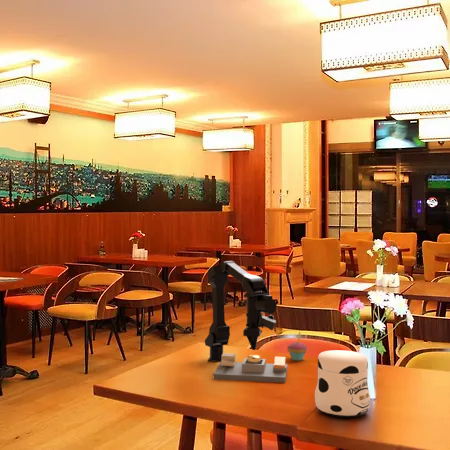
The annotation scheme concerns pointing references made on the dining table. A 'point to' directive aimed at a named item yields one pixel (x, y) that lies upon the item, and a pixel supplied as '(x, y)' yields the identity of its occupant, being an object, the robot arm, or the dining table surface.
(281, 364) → the rocker
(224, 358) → the tan rectangular prism
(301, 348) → the cupcake
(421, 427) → the dining table surface
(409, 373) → the dining table surface
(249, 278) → the robot arm
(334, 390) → the milk container
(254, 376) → the panel
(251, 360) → the button
